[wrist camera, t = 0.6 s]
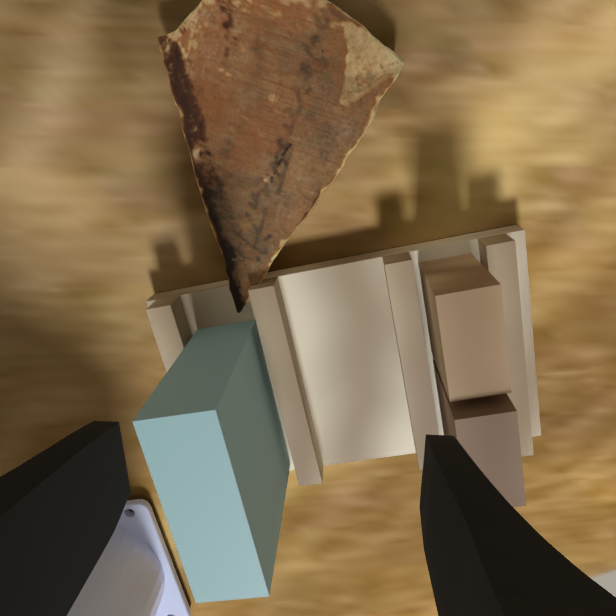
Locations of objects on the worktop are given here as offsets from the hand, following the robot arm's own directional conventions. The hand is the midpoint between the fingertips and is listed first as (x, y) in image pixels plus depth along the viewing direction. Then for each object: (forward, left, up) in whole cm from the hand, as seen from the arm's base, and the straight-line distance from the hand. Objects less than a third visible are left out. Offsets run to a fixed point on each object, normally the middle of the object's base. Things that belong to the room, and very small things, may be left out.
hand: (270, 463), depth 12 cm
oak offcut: (+6, -1, -10) cm, 11 cm away
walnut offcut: (+6, -5, -10) cm, 12 cm away
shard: (+1, +7, -11) cm, 13 cm away
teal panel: (-3, -3, -10) cm, 11 cm away
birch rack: (+1, -3, -11) cm, 11 cm away
